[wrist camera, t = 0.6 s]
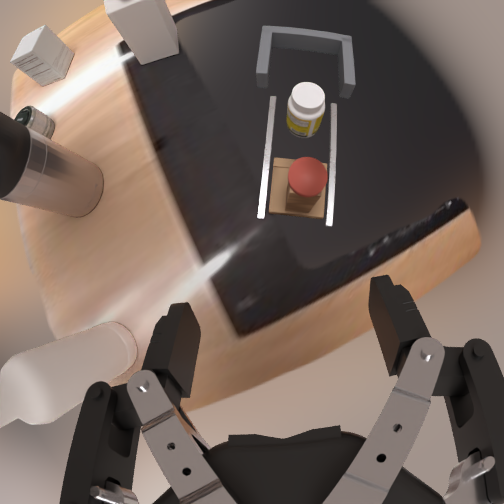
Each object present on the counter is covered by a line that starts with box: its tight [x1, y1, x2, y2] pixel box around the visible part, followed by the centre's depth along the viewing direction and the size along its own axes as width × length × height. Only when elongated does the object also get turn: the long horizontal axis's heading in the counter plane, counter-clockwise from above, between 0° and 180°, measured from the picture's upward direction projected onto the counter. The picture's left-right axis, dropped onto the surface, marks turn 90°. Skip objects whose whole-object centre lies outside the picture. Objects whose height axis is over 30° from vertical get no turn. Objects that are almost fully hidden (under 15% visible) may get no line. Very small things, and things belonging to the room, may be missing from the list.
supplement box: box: [10, 25, 74, 86], centre depth 36 cm, size 7×7×13 cm
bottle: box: [0, 322, 137, 428], centre depth 25 cm, size 8×8×30 cm
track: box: [258, 96, 337, 227], centre depth 38 cm, size 10×18×1 cm, turn 174°
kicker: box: [269, 157, 328, 219], centre depth 32 cm, size 7×7×13 cm
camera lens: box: [15, 106, 54, 139], centre depth 38 cm, size 6×6×8 cm
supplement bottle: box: [287, 82, 325, 138], centre depth 35 cm, size 5×5×8 cm
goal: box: [256, 26, 355, 98], centre depth 37 cm, size 14×11×4 cm
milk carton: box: [104, 0, 179, 65], centre depth 32 cm, size 7×7×19 cm
